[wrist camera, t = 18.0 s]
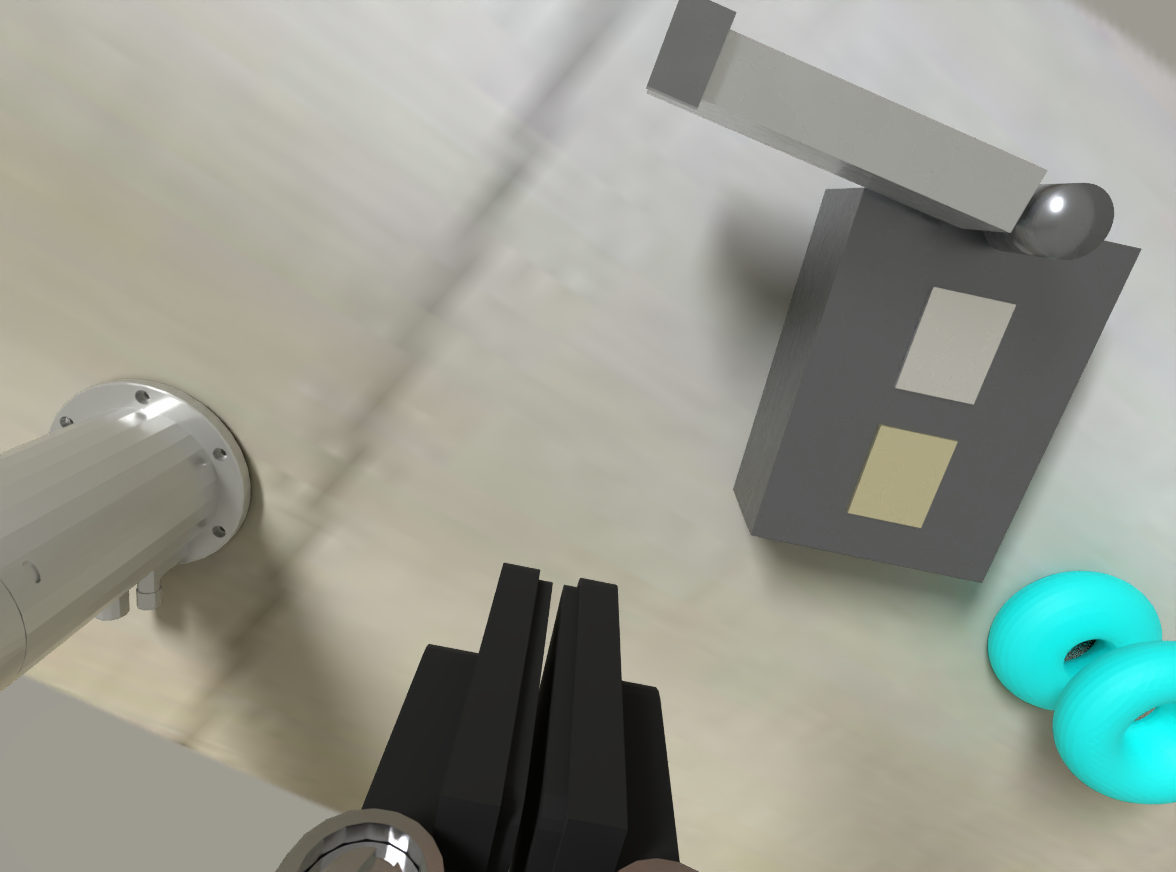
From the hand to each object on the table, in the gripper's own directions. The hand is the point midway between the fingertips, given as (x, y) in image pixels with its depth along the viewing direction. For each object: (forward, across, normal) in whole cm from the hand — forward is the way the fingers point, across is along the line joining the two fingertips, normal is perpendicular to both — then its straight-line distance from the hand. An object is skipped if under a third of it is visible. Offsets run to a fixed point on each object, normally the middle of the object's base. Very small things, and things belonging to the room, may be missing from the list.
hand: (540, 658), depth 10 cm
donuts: (+30, -35, +13) cm, 48 cm away
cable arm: (+23, -10, -11) cm, 27 cm away
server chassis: (+30, -18, -2) cm, 35 cm away
